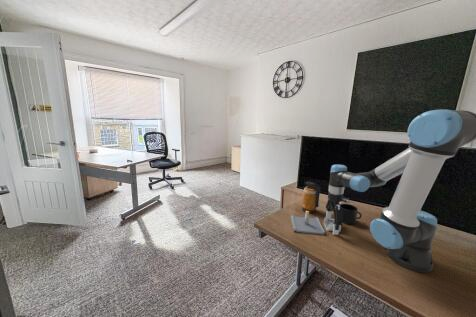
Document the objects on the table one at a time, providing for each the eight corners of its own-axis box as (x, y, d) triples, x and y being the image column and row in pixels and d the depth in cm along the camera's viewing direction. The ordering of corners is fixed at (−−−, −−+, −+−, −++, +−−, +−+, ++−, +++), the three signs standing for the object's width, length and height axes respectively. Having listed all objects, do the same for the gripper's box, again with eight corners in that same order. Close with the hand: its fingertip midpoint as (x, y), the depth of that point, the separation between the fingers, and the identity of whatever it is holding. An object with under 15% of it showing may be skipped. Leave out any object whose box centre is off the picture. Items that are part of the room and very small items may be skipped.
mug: (361, 227, 111) (364, 212, 109) (338, 222, 115) (340, 208, 114) (359, 219, 119) (361, 206, 117) (337, 215, 124) (339, 202, 122)
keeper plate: (324, 234, 103) (326, 220, 101) (293, 231, 105) (294, 217, 103) (317, 219, 118) (318, 206, 116) (290, 217, 121) (291, 204, 119)
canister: (305, 206, 137) (308, 179, 133) (321, 211, 129) (323, 183, 125) (299, 209, 131) (301, 182, 127) (314, 215, 123) (317, 186, 119)
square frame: (340, 232, 106) (341, 225, 105) (326, 230, 107) (327, 224, 106) (336, 225, 112) (336, 219, 112) (323, 224, 113) (324, 217, 113)
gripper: (352, 202, 93) (347, 241, 97) (335, 185, 117) (331, 217, 121) (336, 201, 94) (331, 240, 98) (322, 184, 118) (319, 216, 122)
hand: (331, 227), depth 110 cm, fingers open, 13 cm apart
